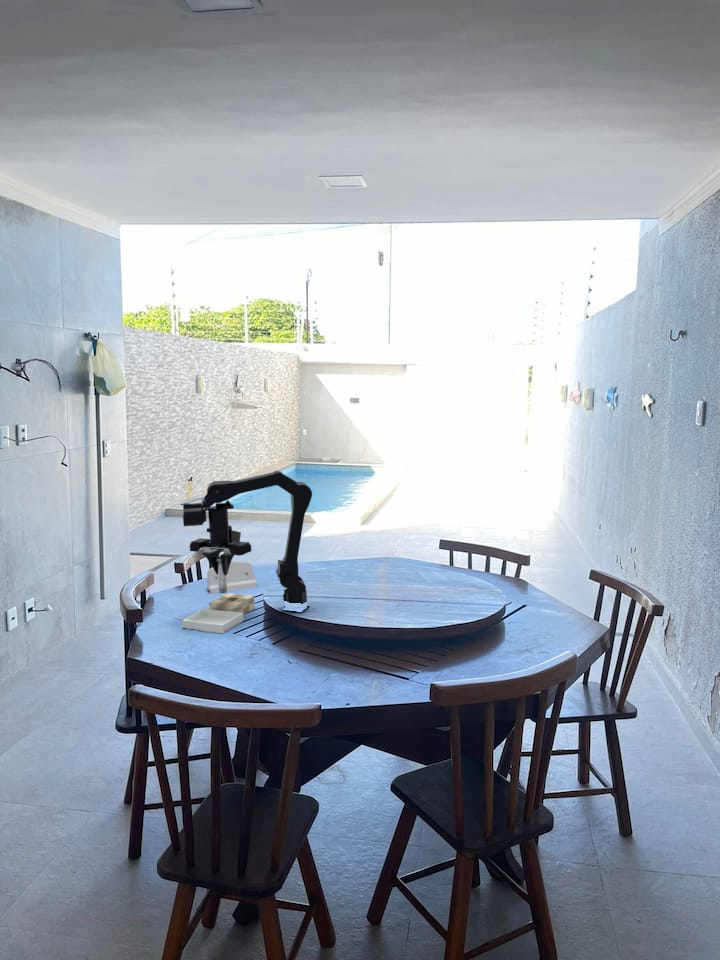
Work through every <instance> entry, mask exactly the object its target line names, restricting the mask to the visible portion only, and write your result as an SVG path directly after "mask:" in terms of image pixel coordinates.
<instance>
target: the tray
mask: <svg viewBox="0 0 720 960" xmlns="http://www.w3.org/2000/svg"><path fill="white" fill-rule="evenodd" d="M243 622H244V615H243V613H238V612H229V611H220V610H211V609H209V608H203V609H200V610H199V611H196V612H194V613H193V614H191V615H189V616H188V617H185V618H184V619H182V620H181V625H182V627H183V628H189V629H188V630H190V629H195V630H194V631H198V630H200V632H208V633H214V634H223V635H224V634H225V633H226V632H228V631H229V630H232V629H233V628H235V627H237V626H238V625H240V624H241V623H243ZM182 627H181V628H182ZM183 628H182V629H183Z"/></svg>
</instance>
